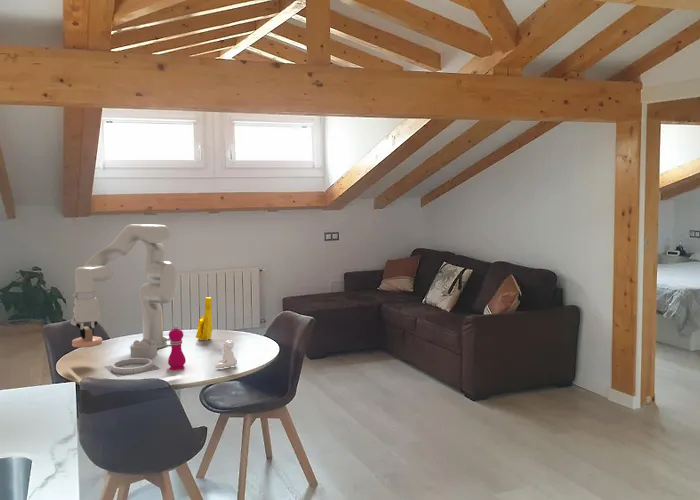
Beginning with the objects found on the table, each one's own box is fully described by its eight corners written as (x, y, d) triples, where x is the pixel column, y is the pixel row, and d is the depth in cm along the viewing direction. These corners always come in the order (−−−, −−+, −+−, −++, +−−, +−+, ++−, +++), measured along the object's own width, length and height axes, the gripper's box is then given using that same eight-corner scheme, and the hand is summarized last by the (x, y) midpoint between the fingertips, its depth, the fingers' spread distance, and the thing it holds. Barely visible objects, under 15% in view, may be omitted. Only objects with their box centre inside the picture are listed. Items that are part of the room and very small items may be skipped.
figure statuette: (202, 335, 329) (201, 294, 327) (217, 335, 329) (216, 294, 327) (192, 343, 312) (191, 300, 309) (207, 344, 311) (206, 300, 309)
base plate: (145, 362, 278) (145, 355, 278) (160, 372, 264) (160, 364, 264) (104, 370, 268) (104, 362, 267) (117, 380, 253) (117, 371, 253)
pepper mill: (170, 369, 269) (168, 323, 267) (187, 368, 269) (185, 323, 267) (166, 374, 262) (165, 327, 260) (184, 373, 262) (182, 327, 260)
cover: (105, 344, 270) (105, 328, 269) (76, 348, 263) (75, 332, 262) (97, 339, 279) (97, 324, 279) (69, 343, 272) (68, 327, 271)
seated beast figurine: (220, 363, 277) (219, 337, 276) (239, 363, 277) (238, 337, 276) (214, 370, 268) (214, 342, 266) (234, 370, 267) (234, 342, 266)
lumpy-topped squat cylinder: (128, 362, 279) (127, 343, 278) (140, 354, 292) (139, 336, 291) (150, 363, 278) (150, 344, 277) (161, 355, 291) (161, 337, 290)
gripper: (67, 298, 261) (69, 341, 263) (107, 294, 271) (108, 336, 273) (63, 296, 267) (65, 338, 269) (102, 292, 277) (103, 333, 279)
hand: (87, 337), depth 271 cm, fingers closed on cover, 2 cm apart
